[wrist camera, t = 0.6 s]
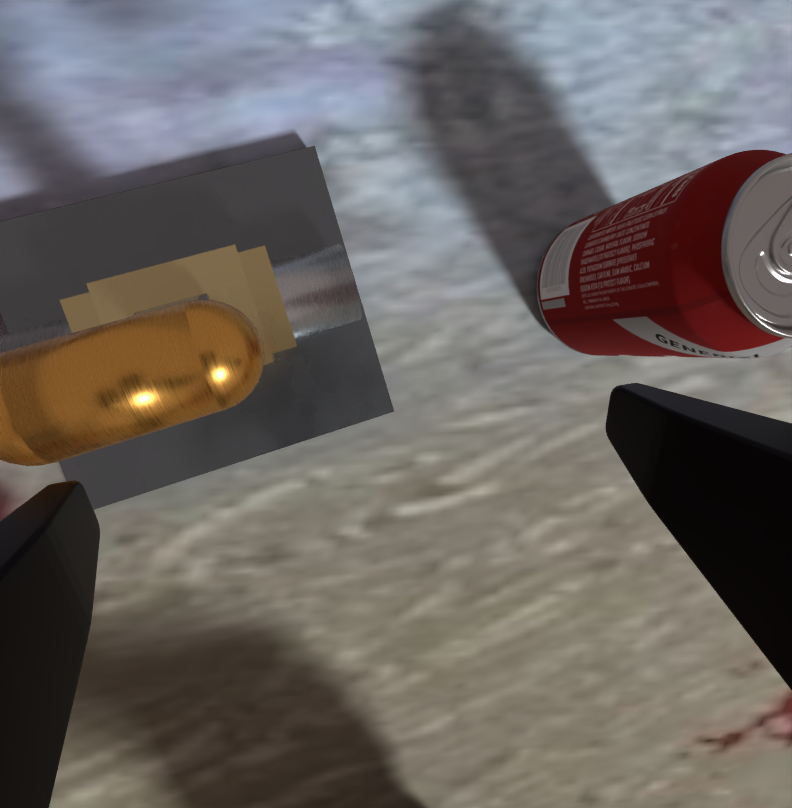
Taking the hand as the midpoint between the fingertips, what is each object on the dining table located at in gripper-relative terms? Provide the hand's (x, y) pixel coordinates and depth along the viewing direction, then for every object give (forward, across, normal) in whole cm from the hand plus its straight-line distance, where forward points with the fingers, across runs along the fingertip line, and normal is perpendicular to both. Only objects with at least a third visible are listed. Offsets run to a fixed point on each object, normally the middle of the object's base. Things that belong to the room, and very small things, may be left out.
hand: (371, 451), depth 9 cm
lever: (+12, +4, +1) cm, 12 cm away
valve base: (+17, +4, +4) cm, 18 cm away
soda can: (+17, -15, +4) cm, 23 cm away
